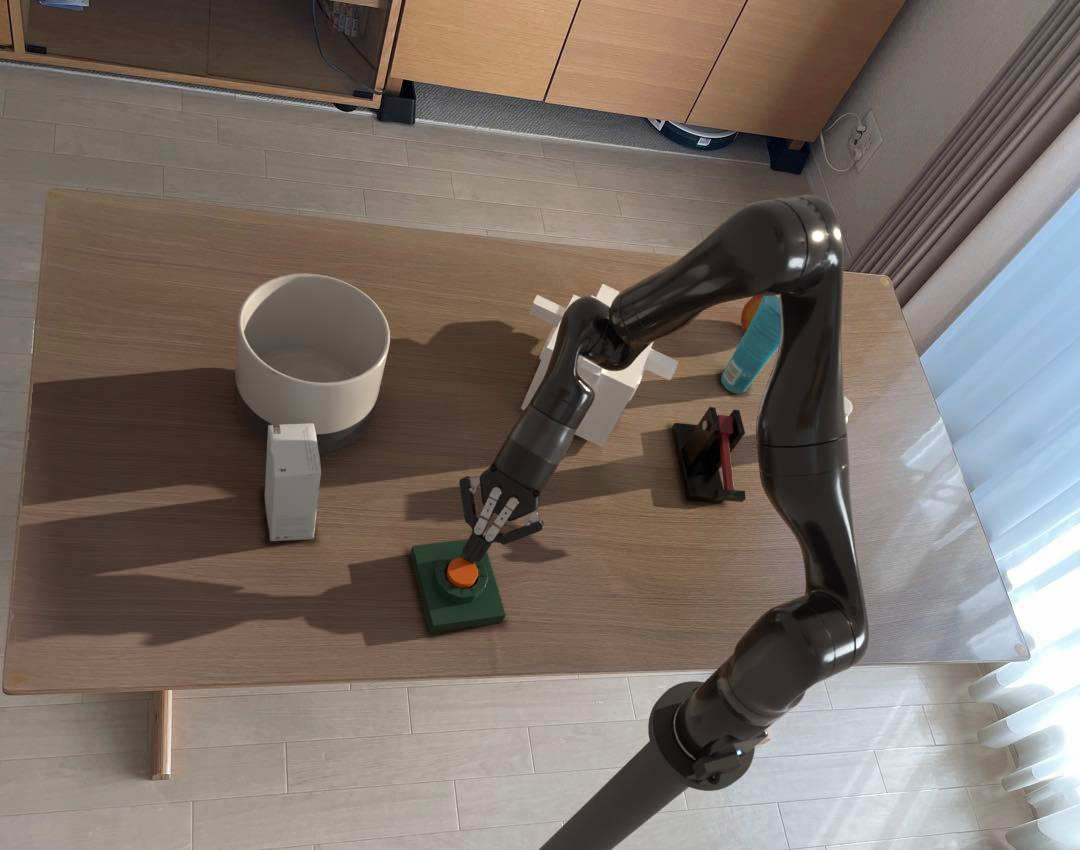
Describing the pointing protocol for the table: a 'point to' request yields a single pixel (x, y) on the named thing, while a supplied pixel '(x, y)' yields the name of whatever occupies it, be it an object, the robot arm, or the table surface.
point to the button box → (454, 589)
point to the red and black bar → (727, 463)
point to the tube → (755, 346)
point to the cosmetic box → (292, 481)
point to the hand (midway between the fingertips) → (469, 560)
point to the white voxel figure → (598, 372)
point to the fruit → (750, 311)
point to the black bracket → (703, 454)
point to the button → (461, 573)
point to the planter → (310, 358)
